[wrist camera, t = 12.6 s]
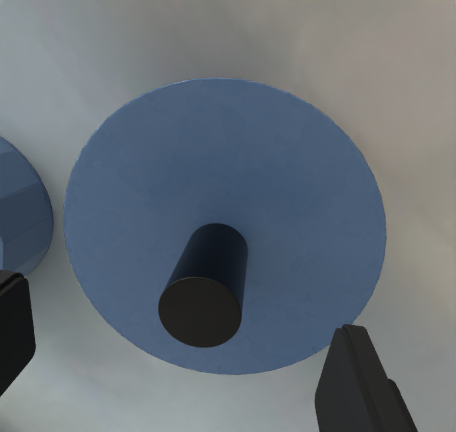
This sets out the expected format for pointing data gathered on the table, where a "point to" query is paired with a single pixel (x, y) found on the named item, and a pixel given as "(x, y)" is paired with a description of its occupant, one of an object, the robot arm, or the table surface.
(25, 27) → the table surface
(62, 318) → the table surface
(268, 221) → the lid
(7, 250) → the pan
